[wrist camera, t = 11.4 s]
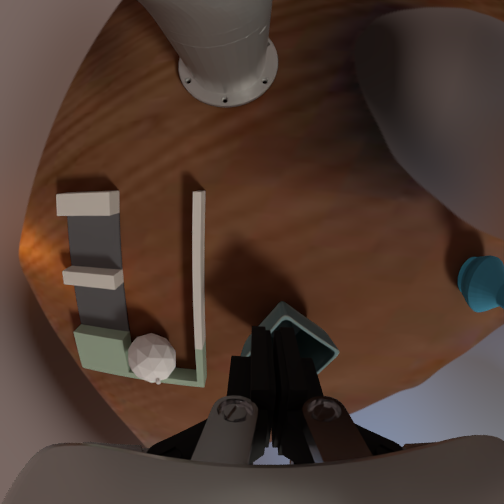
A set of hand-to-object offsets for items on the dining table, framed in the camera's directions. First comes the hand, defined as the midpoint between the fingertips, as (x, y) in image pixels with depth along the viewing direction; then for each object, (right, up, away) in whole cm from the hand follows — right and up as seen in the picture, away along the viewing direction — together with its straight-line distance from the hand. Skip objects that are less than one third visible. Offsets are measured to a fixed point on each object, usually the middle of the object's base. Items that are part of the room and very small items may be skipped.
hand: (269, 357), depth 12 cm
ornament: (-15, -10, +31) cm, 36 cm away
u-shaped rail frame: (-18, -1, +28) cm, 33 cm away
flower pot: (+4, -6, +30) cm, 31 cm away
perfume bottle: (+36, 0, +28) cm, 46 cm away
